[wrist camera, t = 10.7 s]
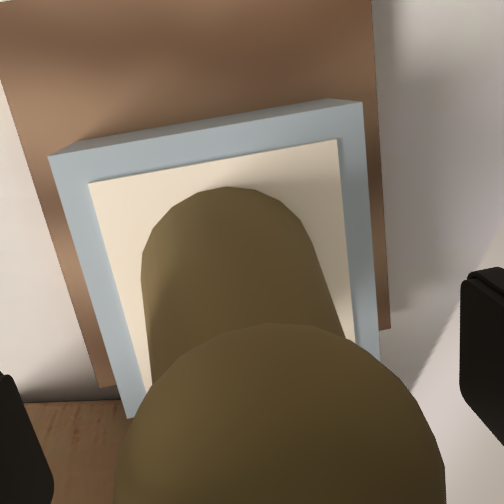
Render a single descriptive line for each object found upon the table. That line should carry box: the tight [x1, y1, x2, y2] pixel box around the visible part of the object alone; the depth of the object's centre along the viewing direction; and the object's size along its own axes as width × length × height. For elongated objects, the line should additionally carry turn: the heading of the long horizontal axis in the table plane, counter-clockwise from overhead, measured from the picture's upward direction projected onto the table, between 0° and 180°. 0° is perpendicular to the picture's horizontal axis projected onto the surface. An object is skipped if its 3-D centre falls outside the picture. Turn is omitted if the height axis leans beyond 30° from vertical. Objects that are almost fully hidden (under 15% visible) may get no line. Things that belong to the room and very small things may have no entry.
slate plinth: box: [47, 98, 381, 419], centre depth 19 cm, size 10×10×4 cm
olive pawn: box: [113, 186, 446, 504], centre depth 11 cm, size 6×6×11 cm
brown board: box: [0, 0, 391, 388], centre depth 20 cm, size 16×14×2 cm
